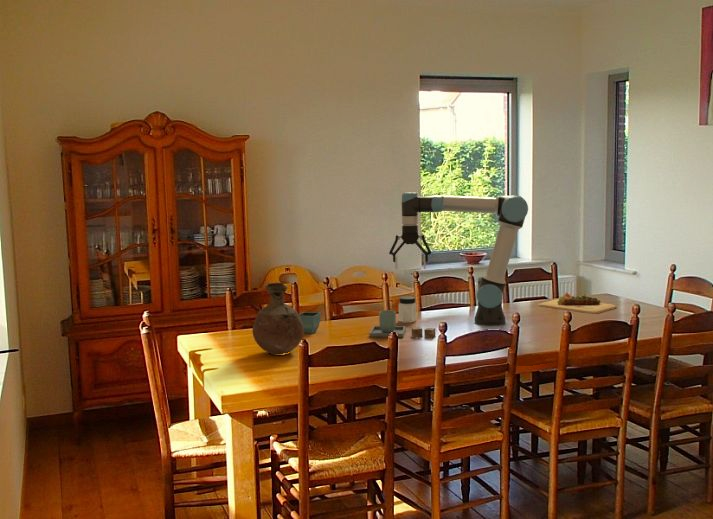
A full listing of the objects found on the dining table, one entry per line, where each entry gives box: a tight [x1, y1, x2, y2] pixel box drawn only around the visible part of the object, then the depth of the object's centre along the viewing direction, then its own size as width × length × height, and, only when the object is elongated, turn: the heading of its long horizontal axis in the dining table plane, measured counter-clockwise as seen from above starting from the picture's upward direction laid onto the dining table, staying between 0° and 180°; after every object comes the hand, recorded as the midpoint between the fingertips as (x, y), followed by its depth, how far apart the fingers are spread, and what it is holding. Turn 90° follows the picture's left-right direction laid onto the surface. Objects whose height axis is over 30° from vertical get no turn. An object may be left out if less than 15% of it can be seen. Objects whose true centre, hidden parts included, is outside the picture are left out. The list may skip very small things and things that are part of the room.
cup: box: [378, 309, 397, 333], centre depth 360 cm, size 8×8×10 cm
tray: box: [368, 325, 407, 339], centre depth 360 cm, size 16×16×2 cm
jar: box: [398, 295, 418, 323], centre depth 388 cm, size 9×8×12 cm
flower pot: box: [298, 311, 321, 334], centre depth 367 cm, size 9×9×9 cm
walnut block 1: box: [411, 326, 423, 339], centre depth 353 cm, size 4×4×4 cm
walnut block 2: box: [423, 327, 436, 339], centre depth 351 cm, size 4×4×4 cm
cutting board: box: [538, 292, 617, 315], centre depth 415 cm, size 35×23×8 cm
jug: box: [251, 282, 304, 355], centre depth 326 cm, size 22×22×30 cm
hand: (410, 268), depth 370 cm, fingers open, 13 cm apart
